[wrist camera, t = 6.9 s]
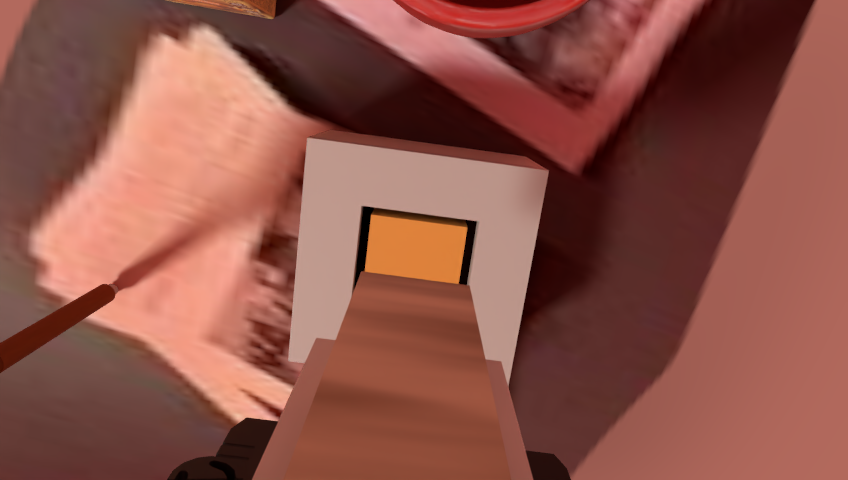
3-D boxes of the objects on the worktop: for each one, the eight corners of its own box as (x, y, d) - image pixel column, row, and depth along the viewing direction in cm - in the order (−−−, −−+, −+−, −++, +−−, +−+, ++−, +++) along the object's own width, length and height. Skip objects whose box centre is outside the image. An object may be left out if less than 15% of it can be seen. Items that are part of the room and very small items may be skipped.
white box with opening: (493, 336, 38) (507, 388, 31) (313, 313, 38) (288, 361, 31) (525, 156, 35) (548, 170, 28) (330, 129, 35) (307, 137, 28)
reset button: (451, 298, 34) (453, 317, 31) (366, 287, 34) (360, 305, 31) (463, 215, 33) (467, 227, 30) (376, 204, 32) (371, 214, 30)
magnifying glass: (115, 222, 36) (-241, 366, 17) (142, 231, 37) (-182, 385, 17) (87, 341, 38) (-260, 592, 19) (113, 349, 39) (-207, 606, 19)
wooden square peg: (453, 383, 22) (528, 1238, 6) (350, 370, 22) (115, 1202, 6) (469, 285, 21) (618, 974, 5) (361, 271, 21) (117, 922, 5)
